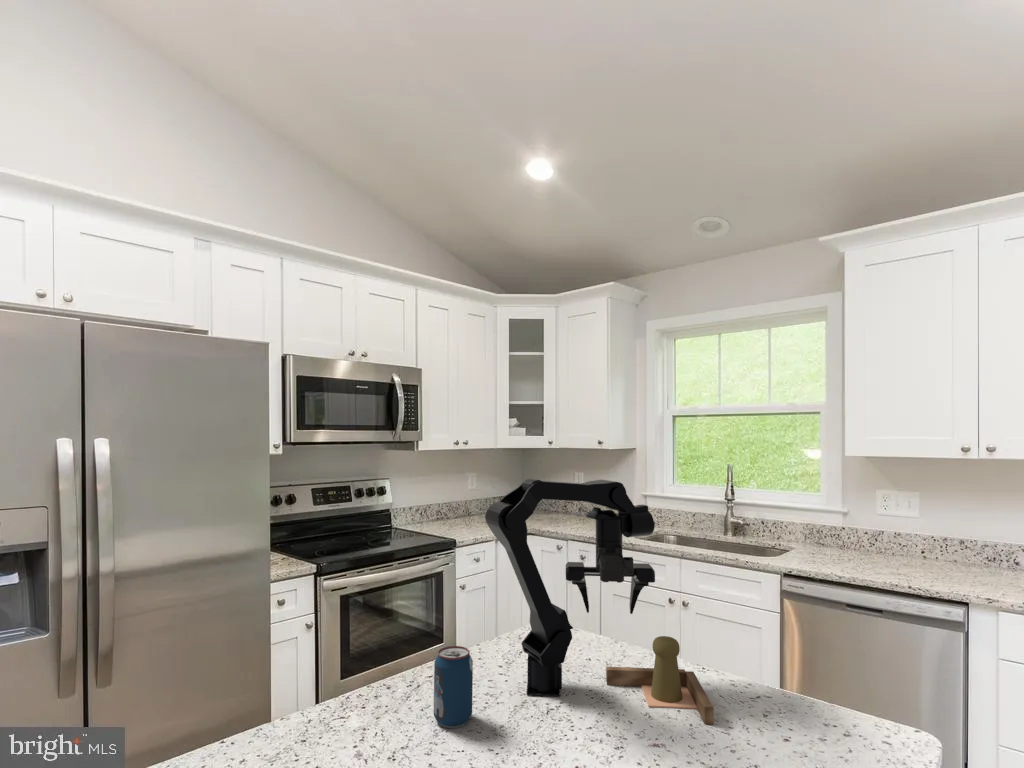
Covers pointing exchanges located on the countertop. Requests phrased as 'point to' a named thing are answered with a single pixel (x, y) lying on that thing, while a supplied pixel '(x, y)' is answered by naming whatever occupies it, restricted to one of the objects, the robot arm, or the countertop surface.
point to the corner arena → (643, 677)
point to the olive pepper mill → (666, 670)
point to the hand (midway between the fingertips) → (609, 612)
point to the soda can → (453, 686)
